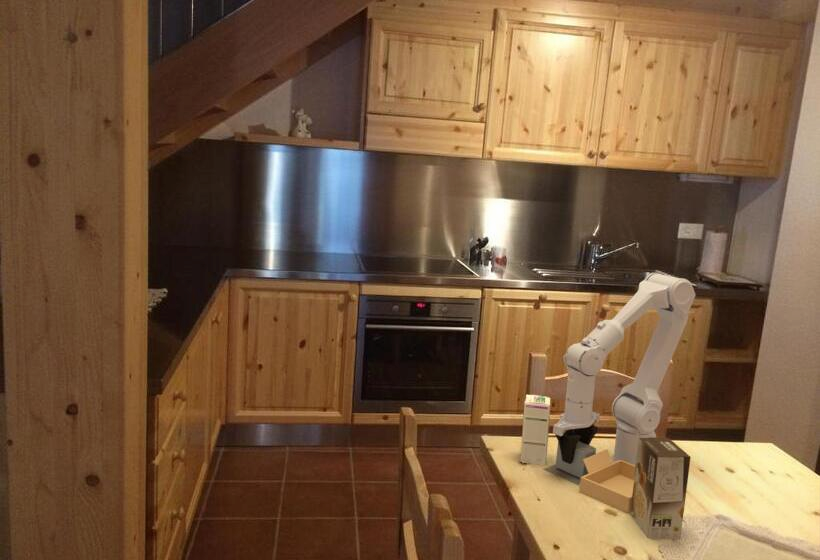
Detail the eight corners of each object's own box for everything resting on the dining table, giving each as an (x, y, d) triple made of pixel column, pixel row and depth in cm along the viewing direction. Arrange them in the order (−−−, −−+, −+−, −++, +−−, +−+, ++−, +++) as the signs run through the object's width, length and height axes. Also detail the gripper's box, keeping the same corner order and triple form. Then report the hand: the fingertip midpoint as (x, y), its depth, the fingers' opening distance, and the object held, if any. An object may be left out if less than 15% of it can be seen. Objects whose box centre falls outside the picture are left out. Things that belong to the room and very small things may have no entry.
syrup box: (546, 466, 151) (551, 404, 149) (519, 463, 153) (524, 401, 150) (546, 456, 157) (551, 396, 155) (520, 453, 158) (525, 393, 156)
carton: (610, 471, 151) (613, 445, 150) (673, 497, 140) (677, 469, 139) (571, 490, 141) (574, 462, 140) (636, 518, 130) (639, 489, 129)
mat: (566, 461, 155) (567, 459, 155) (601, 475, 149) (601, 473, 149) (542, 471, 149) (542, 469, 149) (577, 486, 143) (577, 484, 143)
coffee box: (682, 541, 123) (693, 457, 120) (648, 540, 122) (658, 456, 120) (659, 515, 132) (669, 437, 130) (627, 515, 131) (636, 436, 129)
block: (565, 462, 152) (569, 436, 151) (592, 474, 147) (596, 447, 146) (555, 466, 150) (558, 440, 149) (582, 479, 145) (585, 451, 144)
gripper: (582, 388, 154) (577, 445, 156) (543, 400, 144) (538, 461, 146) (610, 397, 149) (604, 456, 151) (571, 410, 139) (565, 472, 141)
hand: (573, 459), depth 148 cm, fingers open, 4 cm apart
